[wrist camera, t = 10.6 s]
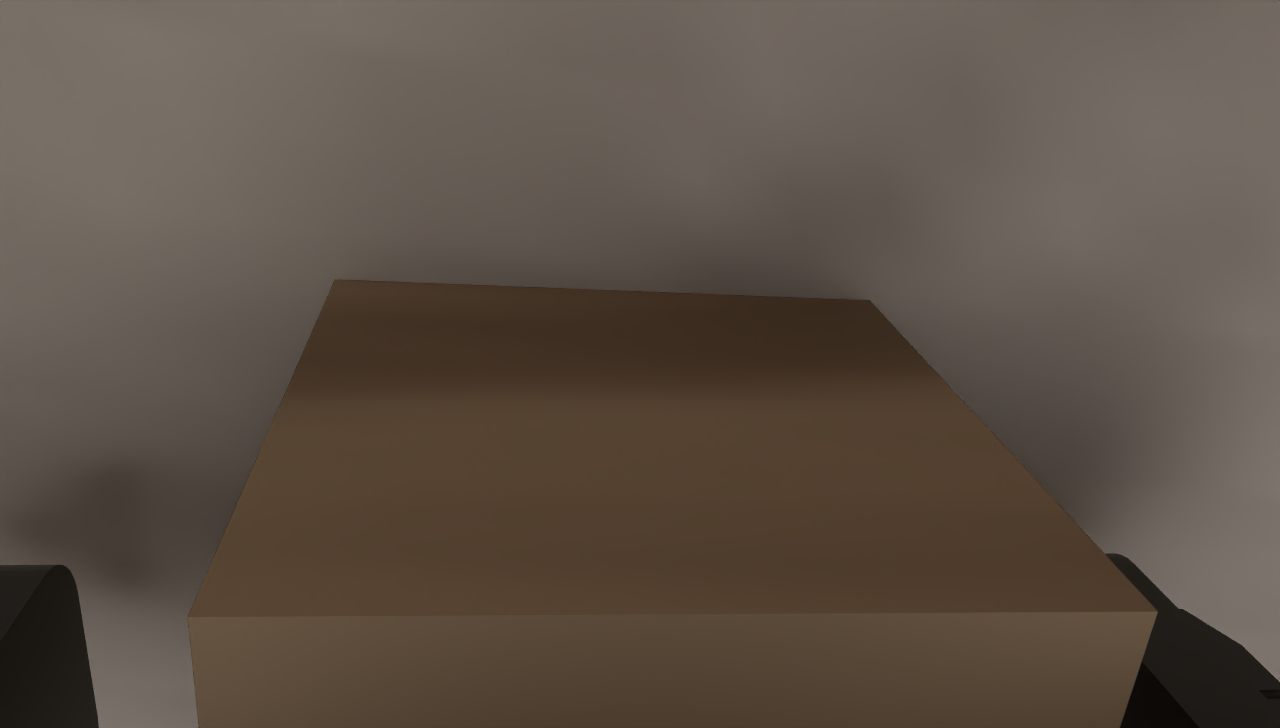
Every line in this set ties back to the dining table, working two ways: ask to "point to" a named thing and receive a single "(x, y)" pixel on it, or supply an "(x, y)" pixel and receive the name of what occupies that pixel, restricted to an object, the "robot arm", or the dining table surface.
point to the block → (645, 530)
